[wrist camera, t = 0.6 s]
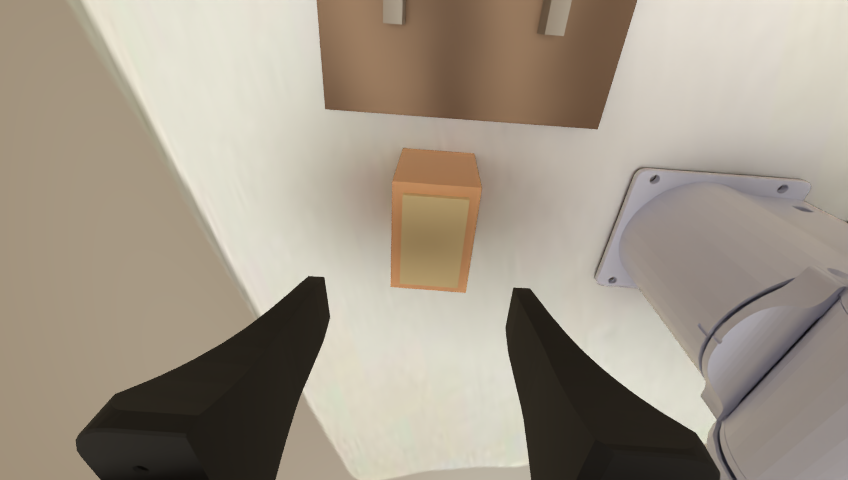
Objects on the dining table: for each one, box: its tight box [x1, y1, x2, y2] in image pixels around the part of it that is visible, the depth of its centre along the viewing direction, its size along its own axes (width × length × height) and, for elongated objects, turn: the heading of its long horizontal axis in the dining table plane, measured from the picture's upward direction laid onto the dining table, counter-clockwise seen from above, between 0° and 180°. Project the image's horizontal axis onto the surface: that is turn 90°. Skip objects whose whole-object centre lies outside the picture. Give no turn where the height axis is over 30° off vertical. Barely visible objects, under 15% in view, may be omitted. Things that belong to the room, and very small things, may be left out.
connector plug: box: [391, 148, 482, 293], centre depth 20 cm, size 4×6×5 cm, turn 176°
